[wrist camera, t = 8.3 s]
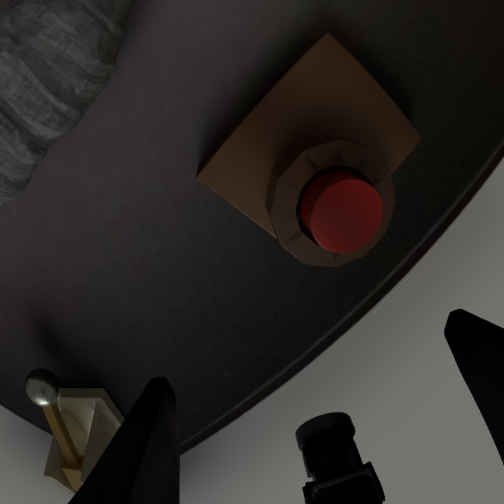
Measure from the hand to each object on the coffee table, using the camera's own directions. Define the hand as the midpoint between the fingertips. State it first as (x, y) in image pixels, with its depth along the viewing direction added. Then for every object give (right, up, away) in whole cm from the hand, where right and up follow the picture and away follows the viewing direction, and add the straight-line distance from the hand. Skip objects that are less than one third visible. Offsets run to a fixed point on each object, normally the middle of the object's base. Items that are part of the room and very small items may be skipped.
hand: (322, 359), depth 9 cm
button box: (+1, +9, +8) cm, 12 cm away
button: (+2, +5, +7) cm, 9 cm away
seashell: (-16, +12, +4) cm, 21 cm away
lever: (-18, -12, +12) cm, 25 cm away
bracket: (-18, -13, +17) cm, 28 cm away
